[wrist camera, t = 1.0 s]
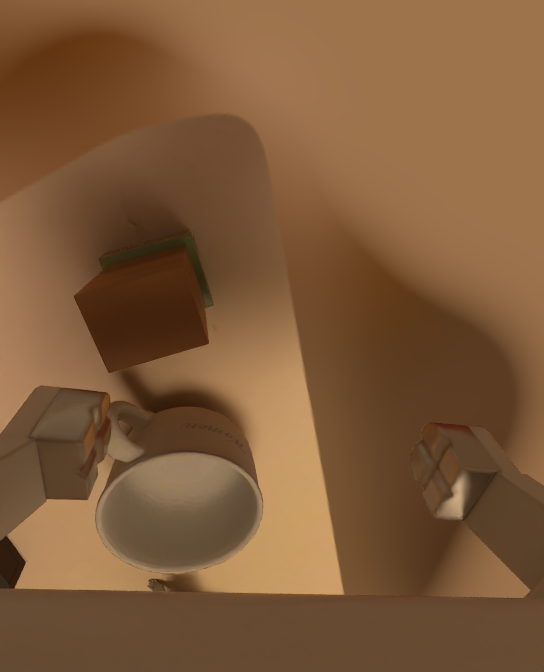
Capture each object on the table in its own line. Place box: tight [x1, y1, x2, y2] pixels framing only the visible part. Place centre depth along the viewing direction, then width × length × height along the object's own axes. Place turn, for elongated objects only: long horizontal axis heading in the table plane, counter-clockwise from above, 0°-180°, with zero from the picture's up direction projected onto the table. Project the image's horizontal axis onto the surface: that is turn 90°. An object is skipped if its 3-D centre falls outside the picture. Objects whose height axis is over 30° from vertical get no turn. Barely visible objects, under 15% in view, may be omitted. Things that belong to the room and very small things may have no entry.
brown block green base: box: [74, 231, 213, 373], centre depth 22 cm, size 5×6×10 cm
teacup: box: [95, 401, 263, 574], centre depth 28 cm, size 14×11×8 cm
